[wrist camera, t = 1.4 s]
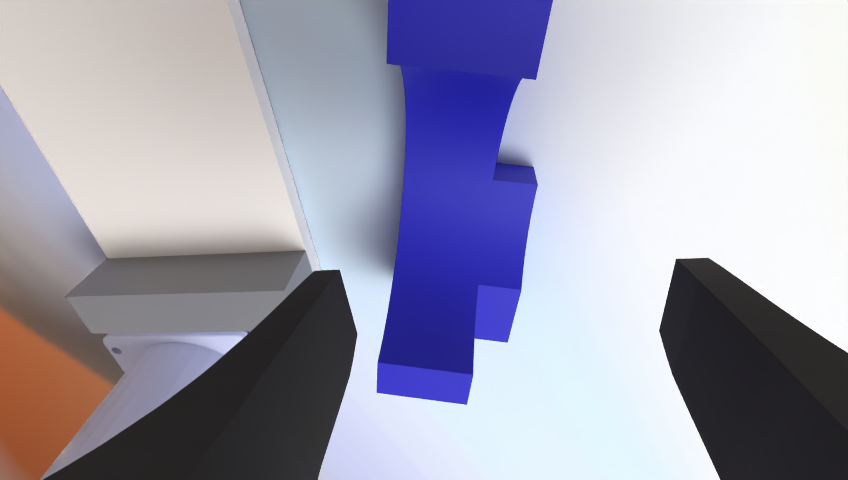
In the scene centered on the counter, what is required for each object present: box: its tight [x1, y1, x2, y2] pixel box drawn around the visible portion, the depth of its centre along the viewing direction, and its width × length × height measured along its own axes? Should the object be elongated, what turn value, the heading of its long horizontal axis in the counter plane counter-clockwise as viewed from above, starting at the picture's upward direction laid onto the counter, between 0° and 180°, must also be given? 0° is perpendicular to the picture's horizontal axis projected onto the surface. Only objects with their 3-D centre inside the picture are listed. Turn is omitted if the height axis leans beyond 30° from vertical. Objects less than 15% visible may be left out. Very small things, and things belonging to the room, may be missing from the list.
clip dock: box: [0, 0, 321, 334], centre depth 15 cm, size 18×9×3 cm, turn 7°
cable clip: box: [377, 0, 553, 405], centre depth 14 cm, size 12×4×6 cm, turn 176°
